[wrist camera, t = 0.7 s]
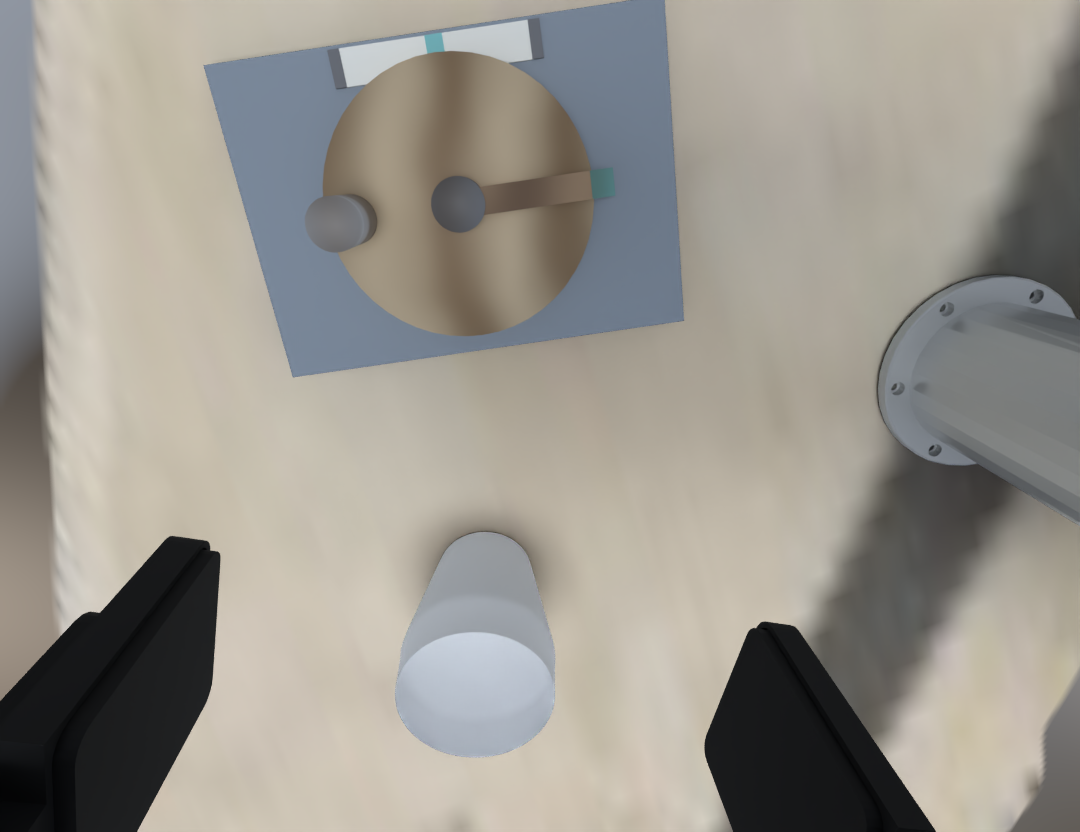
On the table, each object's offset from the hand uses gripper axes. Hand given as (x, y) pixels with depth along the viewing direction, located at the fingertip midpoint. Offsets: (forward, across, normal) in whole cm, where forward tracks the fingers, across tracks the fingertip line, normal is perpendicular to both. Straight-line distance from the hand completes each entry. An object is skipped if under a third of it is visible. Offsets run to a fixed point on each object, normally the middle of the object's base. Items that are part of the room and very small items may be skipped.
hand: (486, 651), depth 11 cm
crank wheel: (+29, +3, -6) cm, 30 cm away
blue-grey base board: (+30, +2, -6) cm, 31 cm away
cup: (+31, -3, +18) cm, 36 cm away
